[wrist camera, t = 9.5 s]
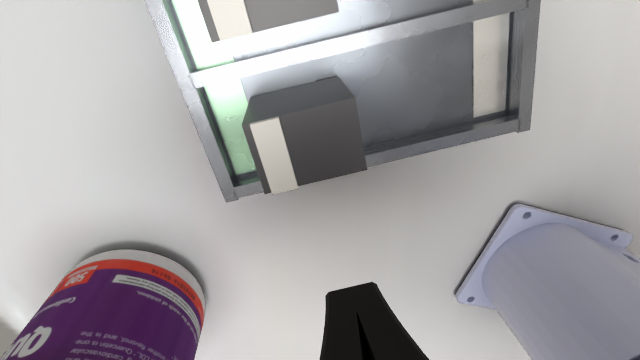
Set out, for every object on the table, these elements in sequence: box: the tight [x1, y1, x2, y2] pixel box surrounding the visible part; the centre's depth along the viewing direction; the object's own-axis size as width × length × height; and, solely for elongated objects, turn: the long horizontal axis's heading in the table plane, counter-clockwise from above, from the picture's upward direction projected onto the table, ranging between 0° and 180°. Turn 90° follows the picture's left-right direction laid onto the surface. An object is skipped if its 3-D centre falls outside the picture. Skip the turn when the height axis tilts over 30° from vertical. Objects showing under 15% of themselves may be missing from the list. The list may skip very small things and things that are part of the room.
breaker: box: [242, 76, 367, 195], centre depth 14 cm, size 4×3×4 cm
